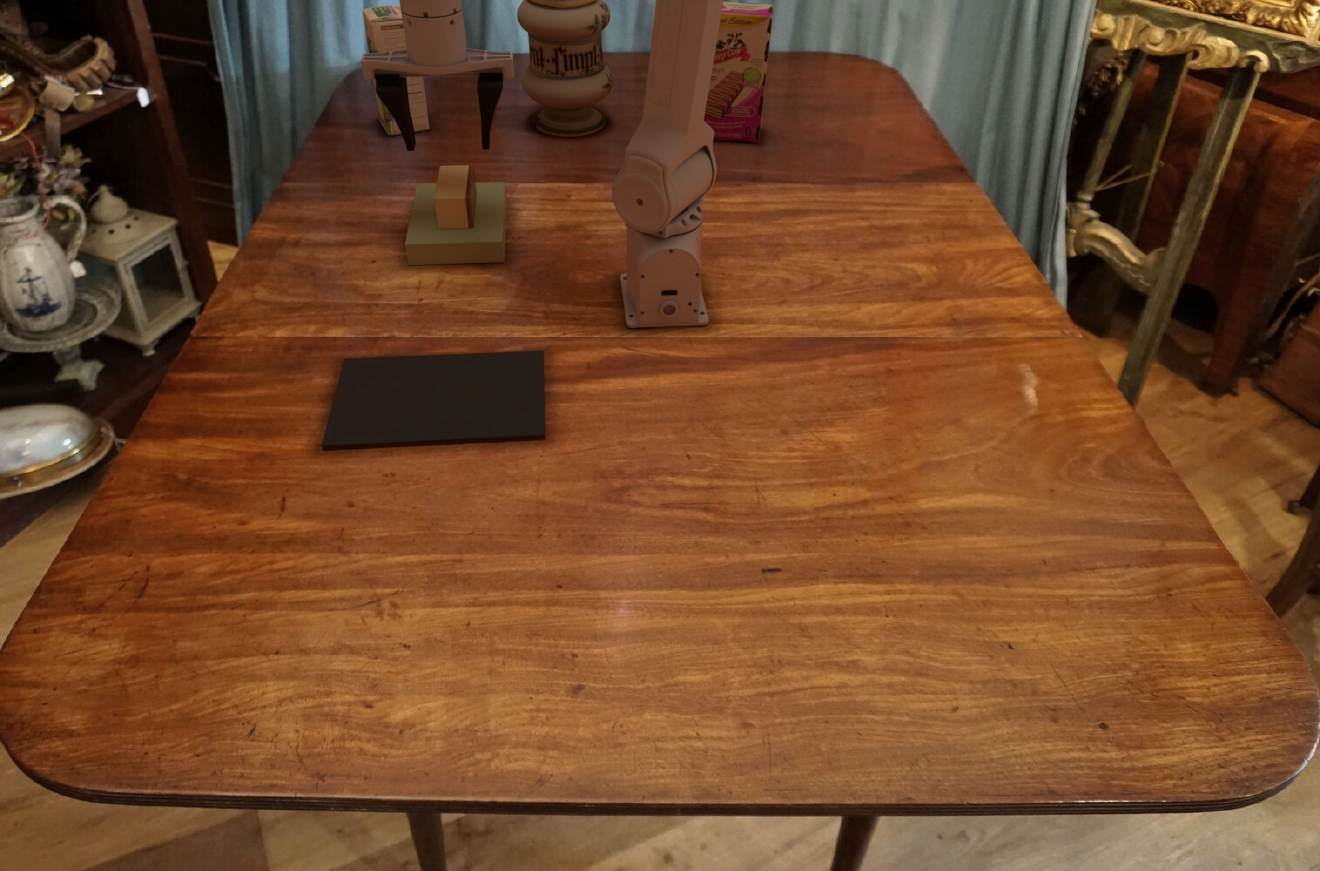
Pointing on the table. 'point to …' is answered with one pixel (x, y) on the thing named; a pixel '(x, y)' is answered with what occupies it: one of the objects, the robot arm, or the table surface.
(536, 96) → the apothecary jar
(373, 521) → the table surface
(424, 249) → the sage rectangular block
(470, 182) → the tan rectangular block
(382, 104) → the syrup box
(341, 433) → the felt mat
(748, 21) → the candy bar box
